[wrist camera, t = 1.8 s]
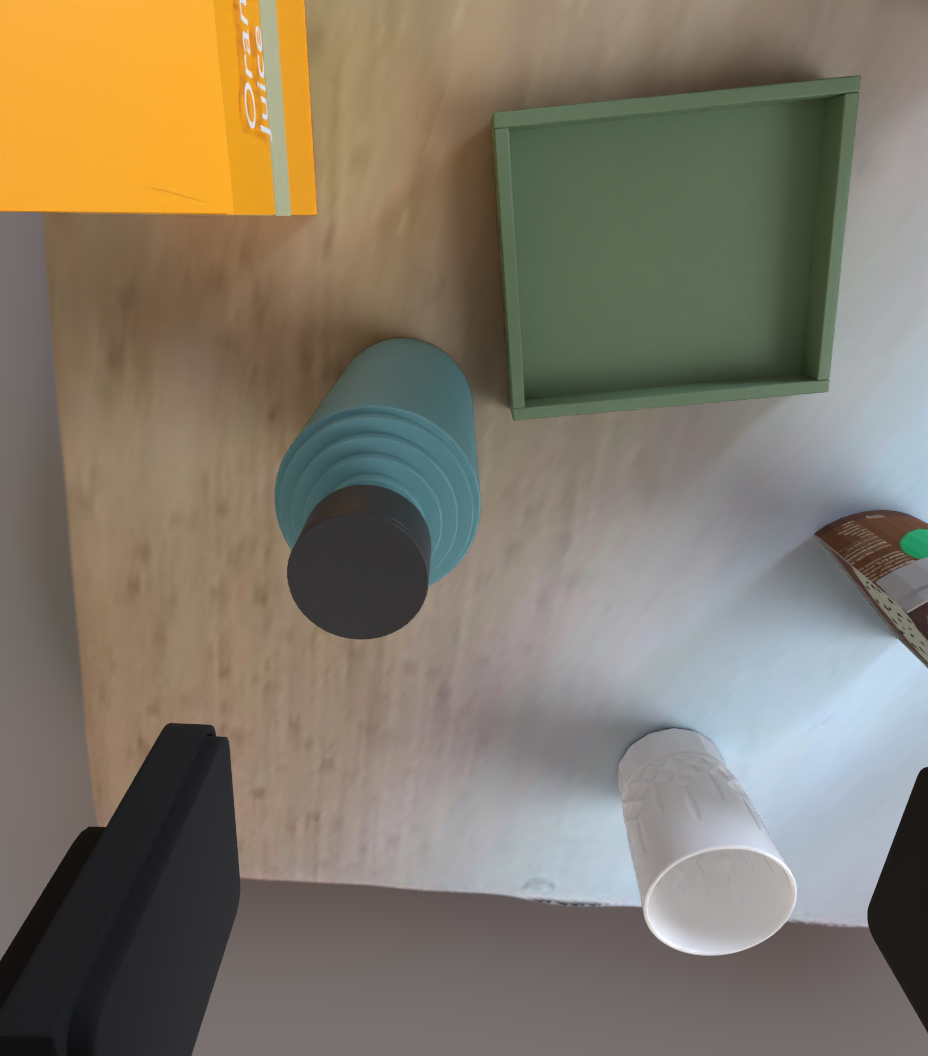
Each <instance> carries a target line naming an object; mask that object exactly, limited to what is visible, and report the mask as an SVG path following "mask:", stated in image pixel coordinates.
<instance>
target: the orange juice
mask: <svg viewBox="0 0 928 1056" xmlns="http://www.w3.org/2000/svg"><path fill="white" fill-rule="evenodd" d="M0 211H4V212H6V211H7V212H65V213H99V214H169V215H240V216H291V215H317V204H316V187H315V170H314V153H313V137H312V120H311V103H310V86H309V70H308V53H307V36H306V19H305V3H304V0H0ZM59 215H61V214H59ZM71 215H73V214H71ZM144 216H145V215H144ZM157 216H159V215H157ZM161 216H162V215H161ZM164 216H166V215H164ZM206 217H211V216H206ZM214 217H216V216H214Z"/></svg>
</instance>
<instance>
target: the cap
mask: <svg viewBox="0 0 928 1056" xmlns="http://www.w3.org/2000/svg"><path fill="white" fill-rule="evenodd" d="M430 560H431V536H430V531H429V529H428V526H427V523H426V521H425V519H424V517H423V516H422V514H421V513H420V511H419V510H418V509H417V508H416V507H415V506H414V505H413V504H412V503H411V502H410V501H409V500H408V499H406V498H405V497H403V496H402V495H400V494H399V493H397V492H395V491H393V490H390V489H387V488H384V487H380V486H376V485H354V486H348V487H345V488H341V489H339V490H337V491H334V492H332V493H331V494H329V495H327V496H326V497H325V498H323V499H322V500H321V501H320V502H319V503H318V504H317V505H316V506H315V507H314V509H313V510H312V512H311V513H310V515H309V517H308V519H307V521H306V523H305V525H304V527H303V529H302V531H301V533H300V535H299V537H298V539H297V541H296V543H295V545H294V547H293V549H292V551H291V554H290V557H289V561H288V567H287V578H288V585H289V588H290V592H291V594H292V597H293V599H294V601H295V603H296V604H297V606H298V608H299V609H300V610H301V611H302V613H303V614H304V615H305V616H306V617H307V618H308V619H309V620H310V621H311V622H313V623H314V624H315V625H317V626H318V627H320V628H321V629H323V630H325V631H327V632H329V633H332V634H334V635H337V636H340V637H345V638H350V639H373V638H378V637H382V636H386V635H388V634H391V633H393V632H395V631H397V630H399V629H401V628H402V627H403V626H405V625H406V624H408V623H409V622H410V621H411V620H412V619H413V618H414V617H415V615H416V614H417V613H418V612H419V610H420V608H421V607H422V605H423V603H424V601H425V598H426V595H427V591H428V584H429V572H430Z"/></svg>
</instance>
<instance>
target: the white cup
mask: <svg viewBox="0 0 928 1056" xmlns="http://www.w3.org/2000/svg"><path fill="white" fill-rule="evenodd" d="M618 787H619V792H620V796H621V800H622V807H623V816H624V822H625V826H626V831H627V837H628V843H629V848H630V852H631V857H632V861H633V866H634V871H635V875H636V880H637V884H638V889H639V894H640V898H641V903H642V908H643V913H644V917H645V920H646V923H647V925H648V927H649V929H650V930H651V932H652V933H653V934H654V935H655V936H656V937H657V938H658V939H659V940H660V941H662V942H663V943H665V944H666V945H668V946H670V947H672V948H674V949H676V950H679V951H682V952H686V953H690V954H695V955H724V954H730V953H735V952H738V951H742V950H745V949H748V948H750V947H752V946H755V945H757V944H759V943H761V942H763V941H764V940H766V939H767V938H769V937H770V936H772V935H773V934H774V933H775V932H777V931H778V929H780V928H781V927H782V926H783V925H784V923H785V922H786V921H787V920H788V918H789V917H790V915H791V913H792V911H793V909H794V906H795V903H796V898H797V887H796V882H795V879H794V877H793V875H792V873H791V871H790V869H789V867H788V866H787V864H786V862H785V861H784V859H783V857H782V855H781V854H780V852H779V850H778V848H777V847H776V845H775V843H774V841H773V840H772V838H771V836H770V834H769V832H768V831H767V829H766V827H765V825H764V824H763V822H762V820H761V818H760V817H759V815H758V813H757V811H756V810H755V808H754V806H753V804H752V803H751V801H750V799H749V797H748V796H747V794H746V793H745V791H744V790H743V788H742V787H741V785H740V784H739V782H738V780H737V779H736V778H735V777H734V775H733V774H732V773H731V771H730V770H729V768H728V766H727V765H726V763H725V761H724V760H723V758H722V756H721V754H720V752H719V750H718V749H717V747H716V745H715V744H714V743H713V742H712V741H710V740H709V739H707V738H705V737H704V736H702V735H701V734H699V733H698V732H696V731H689V730H683V729H676V728H671V729H667V730H662V731H657V732H653V733H649V734H648V735H646V736H645V737H643V738H641V739H640V740H638V741H637V742H635V743H634V744H632V745H631V746H630V747H629V748H628V750H627V751H626V753H625V755H624V756H623V758H622V759H621V761H620V762H619V766H618Z"/></svg>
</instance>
